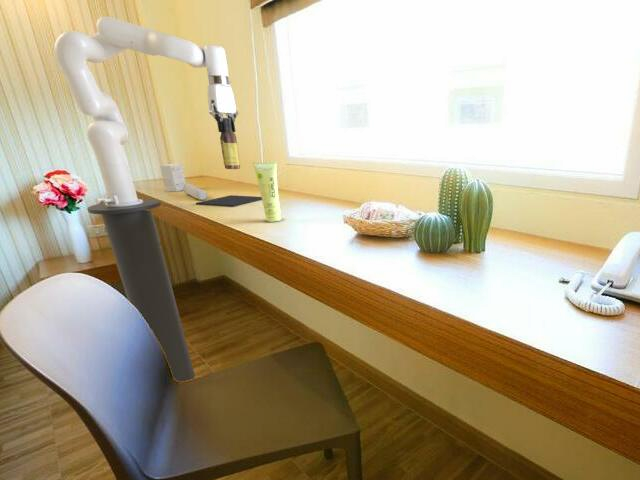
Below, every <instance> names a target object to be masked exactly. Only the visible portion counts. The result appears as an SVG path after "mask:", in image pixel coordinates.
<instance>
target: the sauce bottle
mask: <svg viewBox="0 0 640 480" xmlns="http://www.w3.org/2000/svg"><path fill="white" fill-rule="evenodd" d="M223 121H224V122H225V128H226V132H220V138H219V140H220V147H221V154H222V160H223V165H224V169H226V170H240V169H241V159H240V154H239V153H240V152H239V147H238V142H237V141H238V140H237V135H236V133H235V132H233V131H232V126H231V118H227V117H223Z"/></svg>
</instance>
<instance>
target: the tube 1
mask: <svg viewBox="0 0 640 480" xmlns="http://www.w3.org/2000/svg"><path fill="white" fill-rule="evenodd" d="M182 191H183V193H184V194H187V195H189V196H191V197H192V198H195V199H196V200H198V201H206V199H207V197H208V194H207V191H205V190H203V189H202V188H199V187H197V186H195V185H194V184H192V183H186V184H185V185H184V187H183V190H182Z"/></svg>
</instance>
